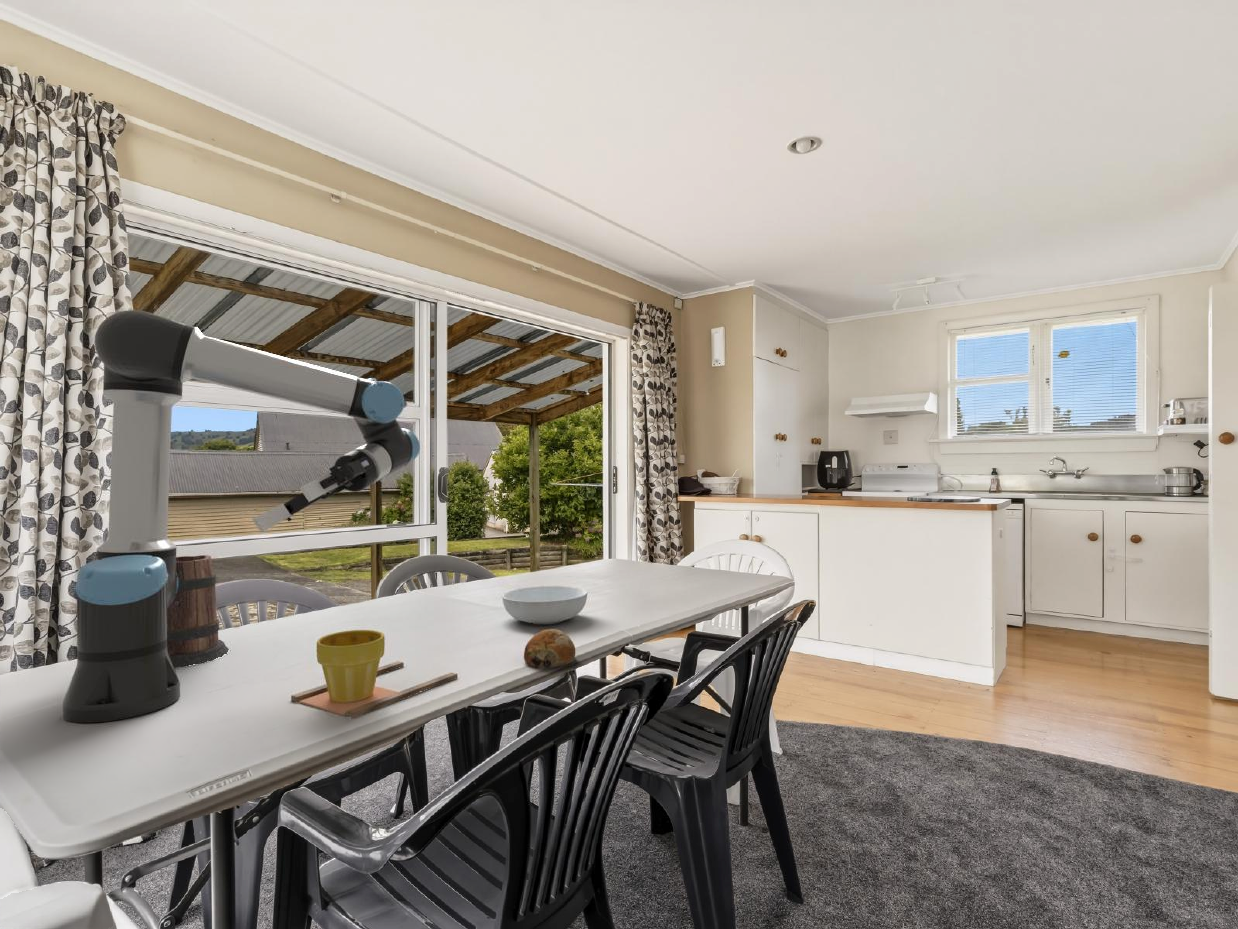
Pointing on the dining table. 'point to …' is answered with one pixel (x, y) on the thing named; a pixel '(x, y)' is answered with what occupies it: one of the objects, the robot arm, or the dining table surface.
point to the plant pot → (350, 663)
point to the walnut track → (382, 701)
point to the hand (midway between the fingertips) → (280, 510)
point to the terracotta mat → (341, 708)
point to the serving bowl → (544, 603)
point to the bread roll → (549, 649)
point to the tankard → (194, 614)
